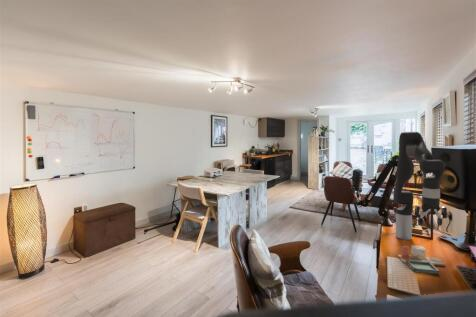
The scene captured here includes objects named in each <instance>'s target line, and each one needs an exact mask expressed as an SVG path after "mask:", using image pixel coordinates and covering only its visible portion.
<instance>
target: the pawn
mask: <svg viewBox="0 0 476 317" xmlns="http://www.w3.org/2000/svg"><path fill="white" fill-rule="evenodd" d="M401 255H402V256H401V258H403V259H406V260H409V259H410V257H409V256H410V248H409V246H407V245H403V246H402V248H401Z"/></svg>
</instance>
